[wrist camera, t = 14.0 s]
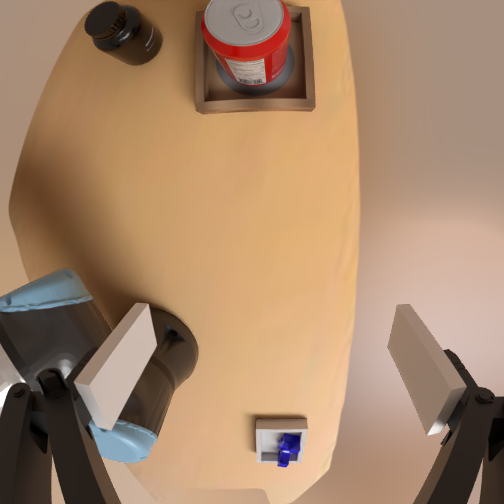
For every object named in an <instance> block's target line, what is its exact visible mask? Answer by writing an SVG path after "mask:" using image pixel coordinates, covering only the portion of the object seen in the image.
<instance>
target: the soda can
mask: <svg viewBox="0 0 504 504" xmlns="http://www.w3.org/2000/svg"><path fill="white" fill-rule="evenodd" d="M290 29H291V18H290V14H289V11H288V9H287V7H286V5H285V4H284V3H283V2H282V1H281V0H211V1H210V2H209V4H208V6H207V8H206V9H205V11H204V13H203V16H202V20H201V30H202V34H203V37H204V39H205V41H206V42H207V44H208V46H209V47H210V48H211V50H212V51H213V53H214V54H215V56H216V57H217V59H218V61H219V62H220V64H221V65H222V67H223V68H224V70H225V71H226V73H227V74H228V75H229V76H230V77H231V78H232V79H233V80H235V81H236V82H238V83H240V84H243V85H246V86H261V85H265V84H268V83H270V82H272V81H273V80H275V79H276V78H277V77H278V76H279V75H280V74H281V72H282V71H283V69H284V66H285V63H286V57H287V50H288V43H289V36H290Z"/></svg>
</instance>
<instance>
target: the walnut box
mask: <svg viewBox="0 0 504 504" xmlns="http://www.w3.org/2000/svg"><path fill="white" fill-rule="evenodd" d="M286 7H287V9H288V11H289V14H290V18H291V29H290V36H289V43H288V50H287V57H286V63H285V66H284V69H283V71H282V72H281V74H280V75H279V76H278V77H277V78H276V79H275V80H273V81H272V82H270V83H268V84H265V85H261V86H246V85H243V84H240V83H238V82H236V81H235V80H233V79H232V78H231V77H230V76H229V75H228V74H227V73H226V71H225V70H224V68H223V67H222V65H221V64H220V62H219V61H218V59H217V57H216V56H215V54H214V53H213V51H212V50H211V48H210V47H209V46H208V44H207V42H206V41H205V39H204V37H203V34H202V30H201V20H202V16H203V13H204V11H200V12H196V38H195V95H196V111H197V112H200V113H202V114H213V113H229V112H251V111H312V110H313V109H314V108H315V81H314V62H313V47H312V33H311V21H310V10H309V7H299V6H286Z"/></svg>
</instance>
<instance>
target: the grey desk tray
mask: <svg viewBox="0 0 504 504" xmlns="http://www.w3.org/2000/svg"><path fill="white" fill-rule="evenodd" d="M307 431H308V426H307V419H257V421H256V453H257V463H278V452H279V450H280V448H278V442H279V440H280V439H281V437H282V436H283V434H284V433H286V434H291V435H298V436H300V449H301V450H300V452H299V453H298V454H295V453H291V455H290V458H289V463H301V462H302V457H303V452H304V447H305V441H306V436H307Z"/></svg>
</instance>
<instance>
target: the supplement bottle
mask: <svg viewBox="0 0 504 504" xmlns="http://www.w3.org/2000/svg"><path fill="white" fill-rule="evenodd" d="M85 31H86V33H87V34H88V35H90V36H92V38H93V42H94V45H95V46H96V47H97V48H98V49H99V50H101V51H103V52H105V53H107V54H109V55H111V56H113V57H115V58H116V59H118V60H120V61H122V62H124V63H126V64H129V65H133V66H137V65H142V64H145V63H147V62H149V61H150V60H152V59H153V58H154V57H155V56H156V55H157V54H158V52H159V50H160V48H161V46H162V41H163V39H162V34H161V32H160V31H159V29H158V28H157V27H156V26H155V25H154V24H153V23H152V22H150V21H149V20H148V19H147V18H146V17H145V16H144V15H143V14H142V13H141V12H140V11H139V10H138V9H136V8H135V7H133V6H129V5H121V6H120V5H119V4H117V3H116V2H113V1H112V2H111V1H109V2H105V3H102V4H100V5H98V6H96V7H95V8H94V9H93V10H92V11H91V12H90V14H89V15H88V17H87V18H86V21H85Z"/></svg>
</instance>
